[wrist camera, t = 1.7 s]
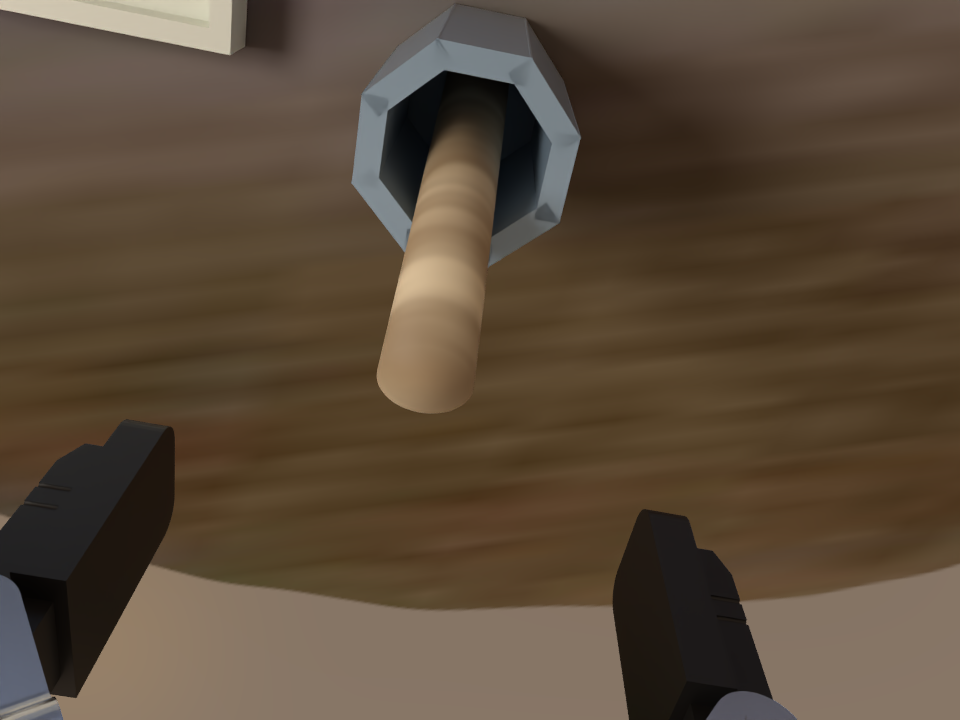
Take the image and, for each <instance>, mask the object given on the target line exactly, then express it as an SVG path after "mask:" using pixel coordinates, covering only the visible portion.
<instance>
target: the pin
mask: <svg viewBox="0 0 960 720" xmlns="http://www.w3.org/2000/svg"><path fill="white" fill-rule="evenodd" d="M508 90H509V83H506V82H501V81H497V80H492V79H487V78H482V77H477V76H472V75H467V74H462V73H457V72H452V71H448V72H447V76H446V81H445V85H444V89H443V93H442V98H441V102H440V106H439V110H438V115H437V119H436V123H435V127H434V132H433V136H432V140H431V144H430V149H429V153H428V157H427V161H426V166H425V170H424V174H423V178H422V183H421V187H420V191H419V195H418V200H417V204H416V208H415V212H414V217H413V221H412V225H411V229H410V234H409V238H408V242H407V246H406V251H405V255H404V259H403V263H402V268H401V272H400V276H399V280H398V285H397V289H396V293H395V297H394V302H393V306H392V310H391V314H390V319H389V323H388V327H387V331H386V336H385V340H384V344H383V348H382V353H381V357H380V361H379V365H378V370H377V381H378V384H379V387H380V388H381V390H382V391H383V393H384V394H385V395H386V396H387V397H388V398H389V399H390V400H391V401H393V402H394V403H396V404H397V405H399V406H401V407H403V408H406V409H408V410H412V411H415V412H420V413H431V414H432V413H443V412H448V411H451V410H454V409H456V408H458V407H460V406H461V405H463V404H464V403H465V402H467V400H468V399H469V398H470V397H471V395H472V393H473V390H474V383H475V374H476V366H477V357H478V348H479V340H480V331H481V323H482V314H483V305H484V297H485V288H486V280H487V271H488V262H489V254H490V245H491V237H492V228H493V219H494V211H495V202H496V194H497V185H498V176H499V168H500V159H501V151H502V142H503V133H504V125H505V116H506V108H507V99H508Z"/></svg>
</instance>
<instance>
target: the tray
mask: <svg viewBox="0 0 960 720" xmlns="http://www.w3.org/2000/svg"><path fill="white" fill-rule="evenodd" d="M0 9H2V10H7V11H12V12H17V13H22V14H27V15H32V16H37V17H42V18H47V19H52V20H57V21H62V22H67V23H72V24H77V25H82V26H87V27H92V28H97V29H102V30H107V31H112V32H117V33H122V34H127V35H132V36H137V37H142V38H147V39H152V40H157V41H162V42H167V43H172V44H177V45H182V46H187V47H192V48H197V49H202V50H207V51H212V52H217V53H222V54H227V55H232V54H233V53H235V52H237V51H239V50H240V49H242V48H244V47H245V43H246V20H247V0H0Z"/></svg>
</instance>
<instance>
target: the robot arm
mask: <svg viewBox="0 0 960 720" xmlns="http://www.w3.org/2000/svg"><path fill="white" fill-rule="evenodd" d="M174 480H175V436H174V431H173V428H172V427H169V426H163V425H157V424H151V423H145V422H140V421H134V420H128V419H126V420H124V421H122V422H121V424H120V425H119V426H118V427H117V429H116V430H115V431H114V433H113V434H112V435H111V437H110V438H109V439H108V441H107V442H106V443H105V445H104V446H103V447H102V446H96V445H90V444H84V445H82V446H80V447H79V448H77V449H75V450H74V451H72V452H70V453H69V454H67V455H65V456H64V457H62V458H60V459H59V460H57V461H56V462H55V464H54V465H53V466H52V467H51V468H50V470H49V471H48V472H47V473H46V475H45V476H44V477H43V478H42V480H41V481H40V482H39V486H38V487H35V488H34V489H33V491H32V492H31V493H30V494H29V496H28V497H27V498H26V499H25V502H24V505H20V507H19V508H18V509H17V510H16V512H15V513H14V514H13V515H12V517H11V518H10V519H9V520H8V521H7V523H6V524H5V525H4V526H3V528H2V529H1V530H0V720H63V717H62V714H61V711H60V707H59V705H58V702H57V700H56V698H55V697H52V698H51V696H50V694H53V695H59V696H67V697H73V698H77V695H78V694H79V692H80V690H81V688H82V686H83V685H84V683H85V681H86V679H87V677H88V675H89V674H90V672H91V670H92V668H93V666H94V664H95V663H96V661H97V659H98V657H99V655H100V653H101V651H102V650H103V648H104V646H105V644H106V642H107V641H108V639H109V637H110V635H111V633H112V631H113V630H114V628H115V626H116V624H117V622H118V620H119V619H120V617H121V615H122V613H123V611H124V609H125V608H126V606H127V604H128V602H129V600H130V598H131V597H132V595H133V593H134V591H135V589H136V587H137V585H138V583H139V582H140V580H141V578H142V576H143V575H144V573H145V571H146V569H147V567H148V565H149V564H150V562H151V560H152V558H153V556H154V554H155V552H156V551H157V549H158V547H159V545H160V543H161V541H162V540H163V538H164V536H165V534H166V531H167V529H168V526H169V523H170V520H171V516H172V512H173V506H174ZM739 601H740V598H739V595H738V592H737V589H736V586H735V583H734V580H733V577H732V575H731V573H730V572H729V571H728V569H727V568H726V567H725V566H724V564H723V563H722V562H721V561H720V559H719V558H718V557H717V556H716V554H715V553H714V552H713V551H710V550H704V549H698V548H697V546H696V543H695V540H694V536H693V533H692V529H691V526H690V523H689V520H688V518H687V517H686V516H681V515H675V514H669V513H663V512H658V511H652V510H646V509H644V510H642V511H641V512H640V513H639V515H638V517H637V520H636V523H635V525H634V528H633V531H632V533H631V536H630V539H629V541H628V544H627V547H626V550H625V552H624V555H623V558H622V560H621V563H620V566H619V569H618V571H617V574H616V578H615V583H614V590H613V613H614V620H615V627H616V633H617V640H618V647H619V654H620V661H621V668H622V674H623V681H624V688H625V694H626V701H627V709H628V715H629V720H797V719H796V718H795V716H794V715H792V714H791V713H790V712H789V711H788V710H787V709H786V708H784V707H783V706H782V705H780V704H779V703H777V702H776V701H774V700H773V699H772V695H771V692H770V689H769V686H768V684H767V681H766V677H765V675H764V671H763V668H762V665H761V662H760V659H759V656H758V653H757V650H756V647H755V644H754V641H753V638H752V635H751V632H750V629H749V626H748V625H746V617H745V614H744V611H743V608H742V605H741V604H739Z"/></svg>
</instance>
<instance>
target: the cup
mask: <svg viewBox="0 0 960 720" xmlns="http://www.w3.org/2000/svg"><path fill="white" fill-rule="evenodd" d="M448 71H452V72H457V73H462V74H467V75H472V76H477V77H482V78H487V79H492V80H497V81H501V82H506V83H509V90H508V99H507V108H506V116H505V125H504V133H503V142H502V151H501V159H500V168H499V176H498V185H497V194H496V202H495V211H494V219H493V228H492V237H491V245H490V254H489V262H488V268H489V266H491V265H492V264H494V263H496V262H497V261H499V260H500V259H502V258H504V257H505V256H507V255H508V254H510V253H512V252H513V251H515V250H517V249H518V248H520V247H521V246H523V245H525V244H526V243H528V242H530V241H531V240H533V239H534V238H536V237H538V236H539V235H541V234H542V233H544V232H546V231H547V230H549V229H551V228H552V227H554V226H555V225H557V224H559V223H560V218H561V214H562V210H563V206H564V202H565V198H566V194H567V190H568V186H569V182H570V178H571V174H572V170H573V166H574V162H575V158H576V154H577V150H578V146H579V142H580V139H581V135H580V132H579V129H578V125H577V122H576V119H575V116H574V112H573V109H572V106H571V103H570V100H569V96H568V93H567V90H566V87H565V83H564V80H563V79H562V77H561V76H560V74H559V72H558V71H557V69H556V68H555V66H554V64H553V63H552V61H551V59H550V58H549V56H548V54H547V53H546V51H545V49H544V48H543V46H542V44H541V43H540V41H539V39H538V38H537V36H536V35H535V33H534V31H533V30H532V28H531V26H530V25H529V23H528V21H527V19H526V18H522V17H517V16H513V15H508V14H503V13H498V12H493V11H489V10H484V9H479V8H474V7H469V6H465V5H460V4H456V3H454V5H453V6H451V7H450V8H449V9H447V10H446V11H445V12H443V13H442V14H441V15H439V16H438V17H437V18H435V19H434V20H432V21H431V22H430V23H428V24H427V25H426V26H424V27H423V28H422V29H420V30H419V31H418V32H416V33H415V34H414V35H412V36H411V37H410V38H408V39H407V40H406V41H404V42H403V43H402V44H400V45H398V46H397V47H396V49H395V50H394V51H393V53H392V54H391V55H390V57H389V58H388V59H387V61H386V62H385V63H384V65H383V66H382V67H381V69H380V70H379V71H378V73H377V74H376V75H375V77H374V78H373V79H372V81H371V82H370V83H369V85H368V86H367V87H366V89H365V90H364V91H363V92H362V94H361V95H362V99H361V108H360V116H359V125H358V134H357V143H356V152H355V160H354V169H353V178H352V182H351V183H352V184H353V185H354V187H355V188H356V189H357V190H358V192H359V193H360V194H361V196H362V197H363V198H364V200H365V201H366V202H367V204H368V205H369V206H370V207H371V209H372V210H373V211H374V213H375V214H376V215H377V217H378V218H379V219H380V220H381V222H382V223H383V224H384V226H385V227H386V228H387V230H388V231H389V232H390V233H391V235H392V236H393V237H394V239H395V240H396V241H397V243H398V244H399V245H400V246H401V248H402V249H403V250H404V252H405V251H406V246H407V242H408V238H409V234H410V229H411V225H412V221H413V217H414V212H415V208H416V204H417V200H418V195H419V191H420V187H421V183H422V178H423V174H424V170H425V166H426V161H427V157H428V153H429V149H430V144H431V140H432V136H433V132H434V127H435V123H436V119H437V115H438V110H439V106H440V102H441V98H442V93H443V89H444V85H445V81H446V76H447V72H448Z"/></svg>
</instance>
